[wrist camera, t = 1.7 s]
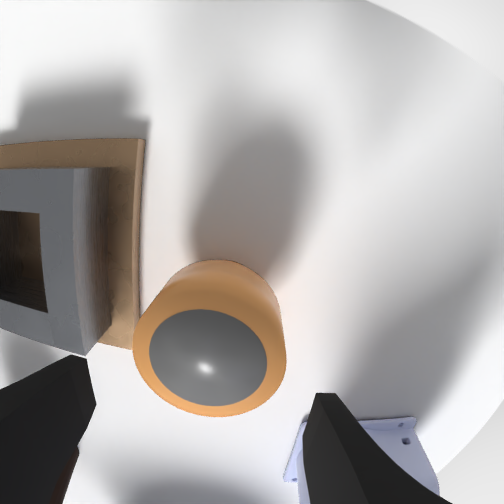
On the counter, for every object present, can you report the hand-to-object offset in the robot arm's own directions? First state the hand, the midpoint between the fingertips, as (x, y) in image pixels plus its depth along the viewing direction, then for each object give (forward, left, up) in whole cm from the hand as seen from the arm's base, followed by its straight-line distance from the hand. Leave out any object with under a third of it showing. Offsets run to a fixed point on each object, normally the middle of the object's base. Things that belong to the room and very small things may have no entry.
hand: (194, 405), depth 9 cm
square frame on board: (+11, -2, -9) cm, 14 cm away
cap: (0, 0, -9) cm, 9 cm away
